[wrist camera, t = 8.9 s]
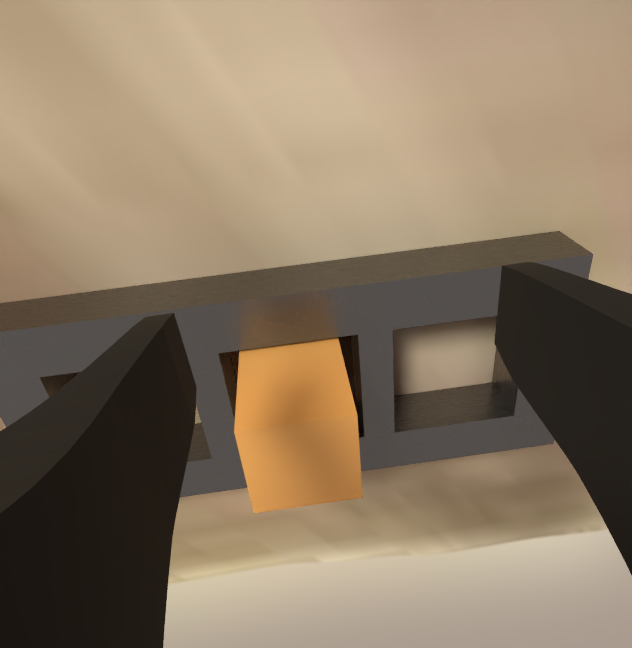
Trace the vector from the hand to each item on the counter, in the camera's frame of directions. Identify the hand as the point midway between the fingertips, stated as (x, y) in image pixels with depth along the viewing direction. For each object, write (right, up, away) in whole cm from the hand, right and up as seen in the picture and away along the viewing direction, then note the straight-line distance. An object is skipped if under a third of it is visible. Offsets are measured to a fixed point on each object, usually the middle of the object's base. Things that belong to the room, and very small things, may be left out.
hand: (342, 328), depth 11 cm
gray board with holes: (-2, -2, +12) cm, 12 cm away
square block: (-2, -1, +12) cm, 12 cm away
